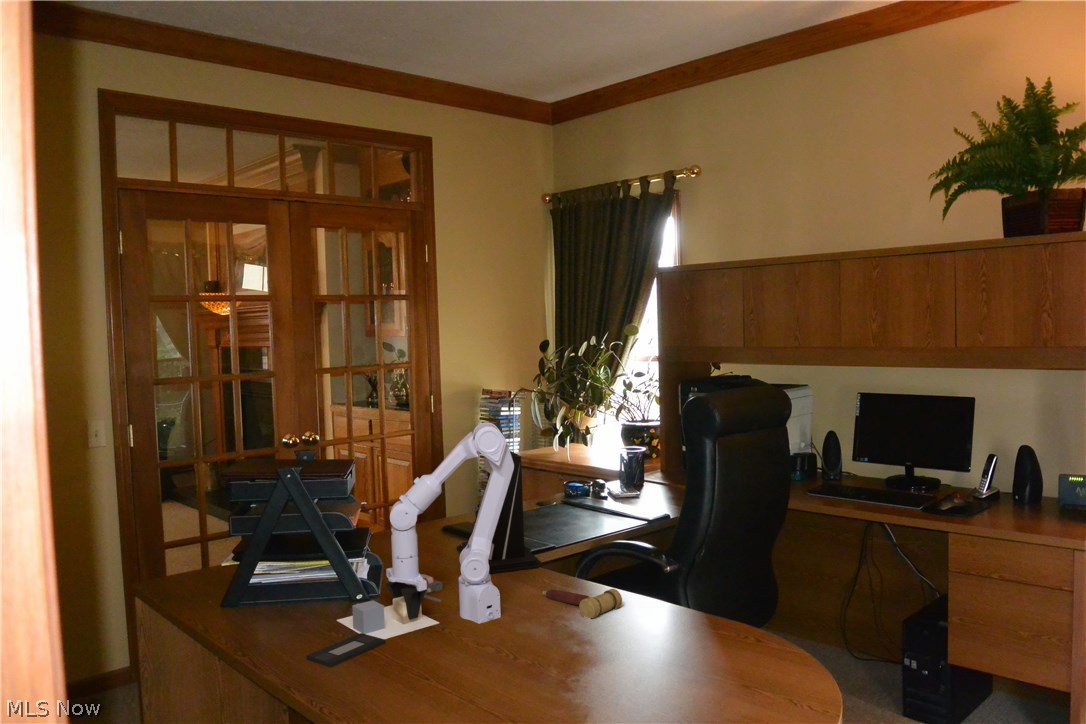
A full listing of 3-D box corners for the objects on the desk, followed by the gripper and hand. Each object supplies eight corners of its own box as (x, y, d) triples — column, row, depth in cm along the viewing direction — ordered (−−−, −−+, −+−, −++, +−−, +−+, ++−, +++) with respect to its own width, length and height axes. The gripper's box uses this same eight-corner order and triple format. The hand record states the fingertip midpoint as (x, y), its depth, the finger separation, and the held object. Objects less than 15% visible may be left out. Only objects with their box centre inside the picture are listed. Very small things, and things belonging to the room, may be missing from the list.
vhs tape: (306, 665, 165) (305, 655, 165) (361, 642, 177) (361, 633, 177) (331, 673, 161) (330, 663, 161) (386, 649, 172) (385, 639, 172)
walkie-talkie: (385, 592, 210) (437, 608, 197) (384, 575, 210) (436, 590, 196) (412, 583, 217) (465, 598, 203) (411, 567, 216) (464, 580, 203)
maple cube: (421, 619, 186) (421, 599, 186) (403, 624, 183) (402, 603, 183) (411, 614, 189) (410, 594, 189) (393, 619, 186) (392, 598, 186)
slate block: (384, 628, 181) (383, 605, 181) (363, 634, 178) (362, 611, 177) (374, 622, 185) (373, 600, 185) (353, 628, 182) (352, 605, 181)
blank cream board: (439, 627, 183) (439, 622, 183) (374, 646, 173) (373, 642, 173) (399, 607, 197) (399, 603, 197) (336, 624, 187) (336, 620, 187)
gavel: (527, 588, 199) (556, 578, 206) (529, 607, 199) (557, 597, 206) (593, 600, 184) (621, 589, 191) (594, 621, 184) (623, 609, 191)
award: (454, 548, 250) (451, 448, 248) (514, 541, 255) (511, 444, 254) (477, 576, 220) (473, 463, 219) (544, 568, 226) (541, 458, 225)
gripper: (373, 552, 189) (376, 611, 189) (405, 565, 177) (408, 628, 178) (401, 546, 193) (403, 604, 194) (433, 558, 182) (436, 620, 182)
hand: (407, 615), depth 186 cm, fingers closed on maple cube, 5 cm apart
